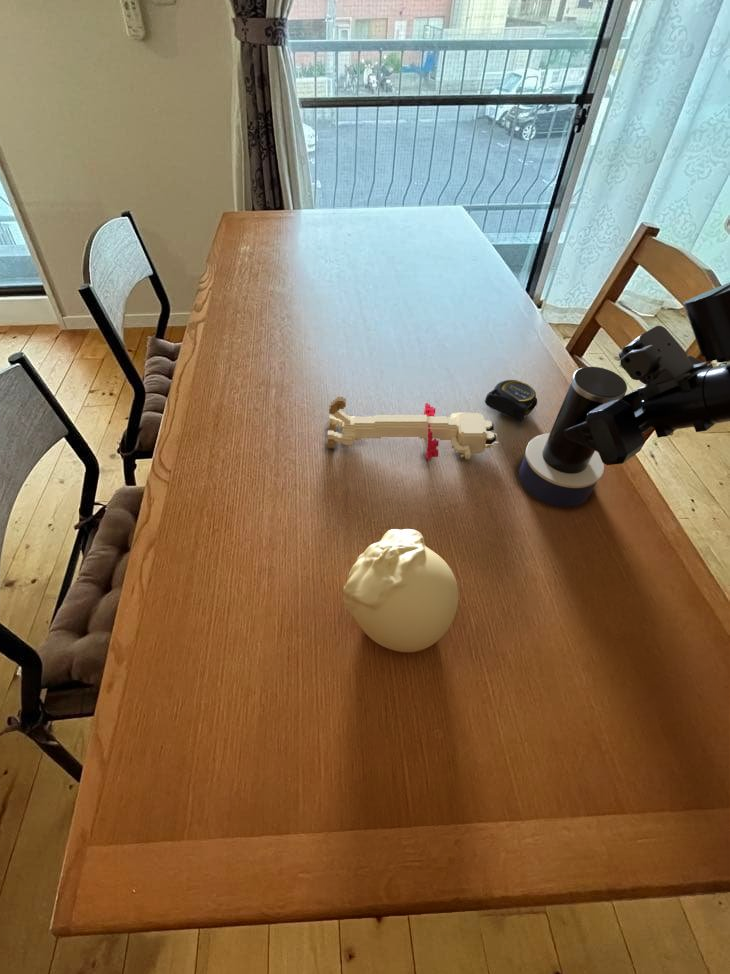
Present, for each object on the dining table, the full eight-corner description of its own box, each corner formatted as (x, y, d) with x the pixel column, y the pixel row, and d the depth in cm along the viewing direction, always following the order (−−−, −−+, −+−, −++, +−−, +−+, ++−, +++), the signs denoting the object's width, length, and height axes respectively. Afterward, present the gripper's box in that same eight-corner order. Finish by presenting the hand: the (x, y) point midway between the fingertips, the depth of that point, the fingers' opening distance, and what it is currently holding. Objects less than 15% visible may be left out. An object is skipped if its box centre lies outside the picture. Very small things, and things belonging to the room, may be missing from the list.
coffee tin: (598, 470, 81) (610, 448, 77) (584, 518, 74) (596, 496, 71) (527, 446, 84) (536, 424, 81) (509, 490, 78) (517, 467, 75)
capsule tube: (595, 474, 74) (636, 397, 65) (549, 474, 74) (584, 397, 64) (579, 442, 78) (615, 366, 69) (535, 442, 78) (566, 366, 69)
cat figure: (327, 466, 82) (500, 467, 80) (323, 421, 76) (511, 421, 73) (332, 422, 89) (491, 422, 86) (328, 378, 83) (500, 376, 80)
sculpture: (378, 557, 69) (386, 501, 62) (465, 606, 65) (486, 552, 57) (325, 625, 63) (327, 571, 55) (419, 685, 58) (435, 636, 50)
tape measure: (480, 408, 90) (485, 390, 87) (503, 390, 93) (509, 372, 91) (517, 429, 87) (523, 410, 84) (539, 409, 90) (546, 391, 87)
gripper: (738, 294, 59) (608, 337, 73) (640, 350, 51) (516, 387, 65) (771, 390, 61) (637, 415, 75) (680, 459, 53) (550, 472, 67)
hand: (587, 420), depth 70 cm, fingers open, 9 cm apart
